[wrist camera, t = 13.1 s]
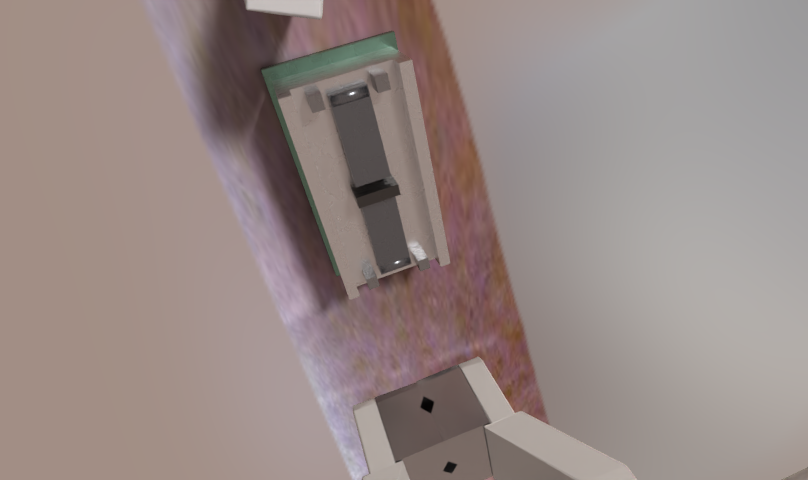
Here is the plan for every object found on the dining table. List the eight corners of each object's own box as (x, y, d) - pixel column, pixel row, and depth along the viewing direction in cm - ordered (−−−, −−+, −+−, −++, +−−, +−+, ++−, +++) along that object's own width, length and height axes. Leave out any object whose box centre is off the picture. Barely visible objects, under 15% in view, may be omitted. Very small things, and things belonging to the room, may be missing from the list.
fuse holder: (260, 68, 38) (266, 89, 33) (392, 30, 40) (418, 44, 34) (335, 273, 50) (348, 313, 45) (434, 237, 51) (458, 272, 46)
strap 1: (326, 93, 36) (328, 96, 35) (364, 82, 36) (367, 84, 36) (354, 184, 40) (356, 188, 39) (388, 172, 40) (391, 176, 39)
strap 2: (408, 259, 46) (412, 265, 45) (379, 269, 46) (381, 276, 45) (392, 191, 42) (395, 197, 41) (359, 203, 41) (362, 208, 40)
